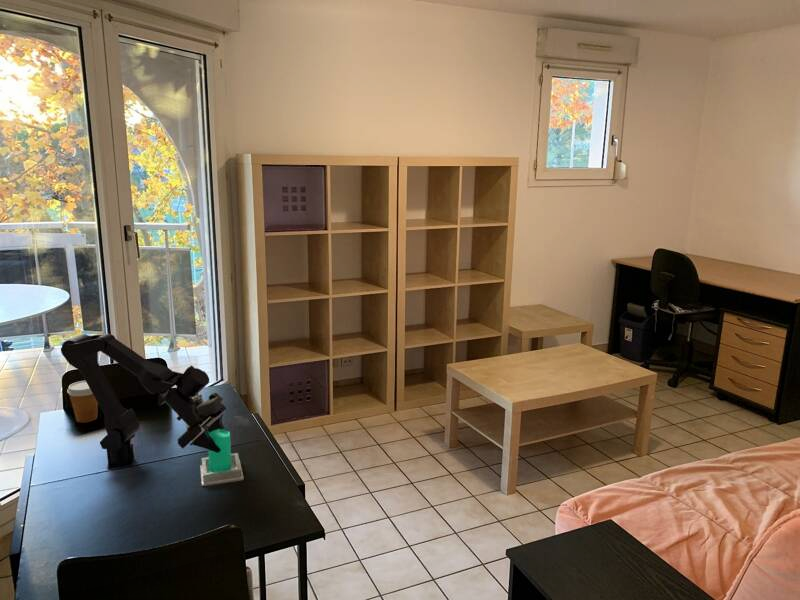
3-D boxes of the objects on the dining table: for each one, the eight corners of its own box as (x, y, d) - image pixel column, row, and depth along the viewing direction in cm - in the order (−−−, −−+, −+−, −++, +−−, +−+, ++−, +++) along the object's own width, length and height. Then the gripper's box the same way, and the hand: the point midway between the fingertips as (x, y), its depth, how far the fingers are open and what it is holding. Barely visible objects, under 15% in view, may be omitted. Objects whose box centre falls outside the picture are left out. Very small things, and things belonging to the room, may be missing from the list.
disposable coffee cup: (94, 425, 198) (90, 390, 195) (65, 424, 198) (60, 390, 195) (108, 413, 207) (104, 380, 204) (80, 412, 207) (76, 379, 204)
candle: (218, 475, 166) (217, 435, 163) (204, 469, 169) (202, 429, 166) (236, 467, 170) (234, 427, 168) (221, 460, 174) (220, 421, 171)
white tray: (201, 486, 163) (200, 471, 162) (199, 457, 179) (198, 443, 178) (243, 480, 167) (243, 465, 166) (237, 451, 182) (237, 438, 181)
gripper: (186, 402, 156) (228, 445, 157) (218, 376, 174) (256, 415, 175) (159, 427, 159) (201, 469, 160) (194, 399, 177) (231, 438, 178)
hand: (224, 446), depth 168 cm, fingers closed on candle, 5 cm apart
